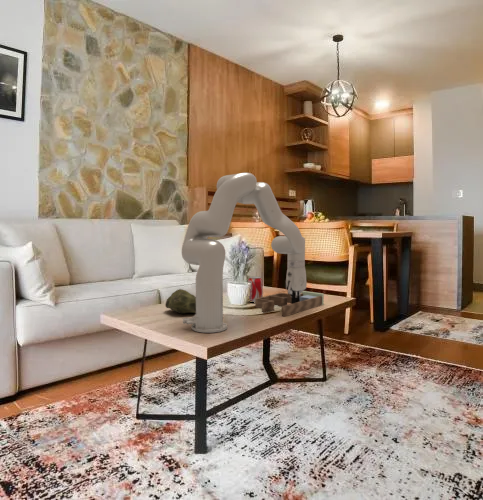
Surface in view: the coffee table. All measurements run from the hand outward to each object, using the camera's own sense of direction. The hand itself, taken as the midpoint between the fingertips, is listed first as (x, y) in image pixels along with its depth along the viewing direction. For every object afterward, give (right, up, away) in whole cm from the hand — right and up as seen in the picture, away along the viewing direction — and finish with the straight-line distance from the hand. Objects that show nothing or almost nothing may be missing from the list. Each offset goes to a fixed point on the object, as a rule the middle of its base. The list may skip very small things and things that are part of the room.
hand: (295, 305), depth 175 cm
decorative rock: (-48, -2, -9) cm, 48 cm away
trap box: (-4, -1, +1) cm, 5 cm away
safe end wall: (+9, 0, +11) cm, 14 cm away
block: (+7, -1, +6) cm, 9 cm away
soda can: (-17, 0, +13) cm, 22 cm away
